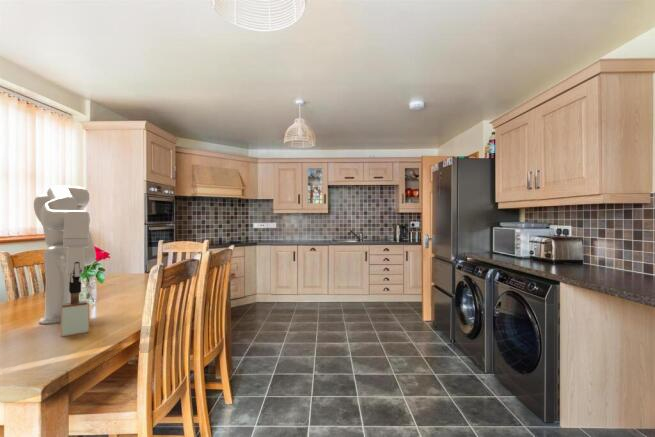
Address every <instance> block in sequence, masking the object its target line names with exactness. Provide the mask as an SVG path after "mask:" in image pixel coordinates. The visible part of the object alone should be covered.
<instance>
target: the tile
mask: <svg viewBox="0 0 655 437" xmlns="http://www.w3.org/2000/svg"><path fill="white" fill-rule="evenodd" d="M85 333H90V303H87V304H86V305H78V306H70V307H63V308H61V323H60V337H67V336H73V335H79V334H85Z"/></svg>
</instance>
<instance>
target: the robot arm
mask: <svg viewBox="0 0 655 437" xmlns="http://www.w3.org/2000/svg"><path fill="white" fill-rule="evenodd" d="M46 191H47V192H46V194H40V195H38V196H36V197H35V198H34V200H33V209H34V213H35V215H36V219H37V220H38V221H39V223H41V226H42V227H43V234H44V241H45V243H46V246H47V248H46V249H45V250H44V251H43V256H42V257H43V261H44V262H43V263H44V269H45V292H44V294H45V295H44V300H45V301H44V317H41V318H39V323H40V324H42V325H51V324H52V325H53V324H61V308H62V304H64V303H71V294H72V293H79V294H80V293H81V292H82V277H81V276H82V275H81V274H83V273H84V271H85V270H84V269H85V267H86V266H92V265H93V264H94V263H95V262H96V259H97V253H96V248H95V244H94V242H93V237H92V233H91V232H90V223H91V218H90V213H89V212H88V211H86V210H84V209H85V208H86V206H88V204H89V202H90V193H89V191H88V190H87V189H86V188H85V187H82V186H72V185H61V184H60V185H54V186H51V187H50V188H48V190H46ZM73 273H75V274H73Z"/></svg>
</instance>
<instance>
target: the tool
mask: <svg viewBox="0 0 655 437" xmlns="http://www.w3.org/2000/svg"><path fill="white" fill-rule="evenodd" d="M73 274H75V273H73ZM86 304H88V302H87V300H81V301H80V293H72V294H71V303H64V304H62V308H63V307H70V306H78V305H86Z"/></svg>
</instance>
